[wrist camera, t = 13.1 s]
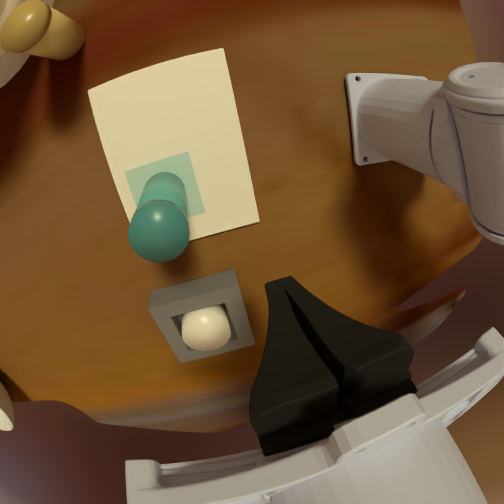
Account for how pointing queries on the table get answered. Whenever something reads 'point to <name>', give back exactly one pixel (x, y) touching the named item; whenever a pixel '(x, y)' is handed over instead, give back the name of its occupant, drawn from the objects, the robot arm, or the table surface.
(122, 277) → the table surface
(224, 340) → the button
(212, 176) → the paper sheet
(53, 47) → the ball
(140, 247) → the teal marker
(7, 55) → the honey pot
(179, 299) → the button box
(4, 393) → the serving bowl
